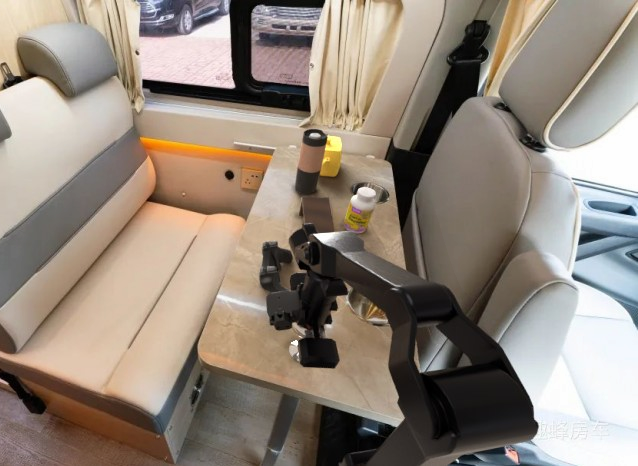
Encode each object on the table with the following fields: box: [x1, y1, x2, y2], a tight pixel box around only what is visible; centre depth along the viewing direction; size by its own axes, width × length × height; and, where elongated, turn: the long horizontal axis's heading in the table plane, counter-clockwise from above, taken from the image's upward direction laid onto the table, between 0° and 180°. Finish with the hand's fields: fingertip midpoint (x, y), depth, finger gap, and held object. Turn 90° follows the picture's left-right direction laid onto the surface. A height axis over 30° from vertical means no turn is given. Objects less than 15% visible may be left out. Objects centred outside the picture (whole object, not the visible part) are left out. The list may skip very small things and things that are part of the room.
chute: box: [298, 196, 336, 233], centre depth 91 cm, size 25×8×7 cm, turn 177°
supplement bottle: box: [343, 186, 377, 234], centre depth 94 cm, size 7×7×13 cm
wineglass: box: [288, 321, 328, 362], centre depth 65 cm, size 7×7×12 cm
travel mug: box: [294, 128, 329, 195], centre depth 107 cm, size 8×8×20 cm
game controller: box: [258, 240, 294, 294], centre depth 82 cm, size 16×7×10 cm, turn 171°
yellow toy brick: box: [319, 135, 343, 178], centre depth 120 cm, size 20×12×12 cm, turn 167°
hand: (304, 339), depth 66 cm, fingers closed on wineglass, 7 cm apart
